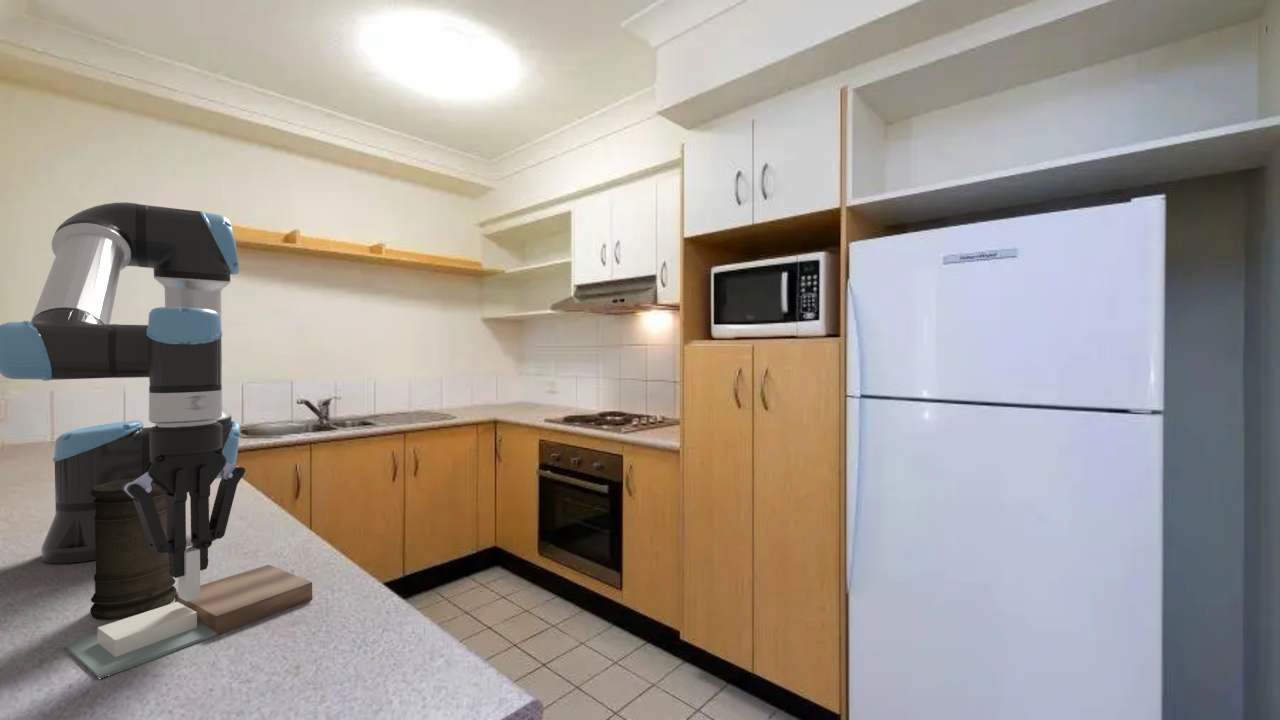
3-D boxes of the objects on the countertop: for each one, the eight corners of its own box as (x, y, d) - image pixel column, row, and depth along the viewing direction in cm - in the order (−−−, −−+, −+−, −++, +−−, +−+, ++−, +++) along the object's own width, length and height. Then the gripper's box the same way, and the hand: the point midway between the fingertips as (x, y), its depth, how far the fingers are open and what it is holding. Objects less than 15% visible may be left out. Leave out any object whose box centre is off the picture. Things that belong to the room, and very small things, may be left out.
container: (190, 596, 81) (188, 477, 80) (115, 625, 72) (113, 492, 72) (151, 588, 84) (149, 473, 83) (75, 615, 75) (73, 487, 75)
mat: (64, 647, 67) (64, 644, 67) (175, 610, 76) (175, 607, 76) (99, 679, 60) (99, 676, 60) (216, 635, 70) (216, 632, 70)
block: (97, 643, 67) (97, 627, 67) (177, 616, 74) (177, 601, 74) (115, 656, 64) (115, 640, 64) (197, 627, 71) (196, 612, 71)
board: (175, 610, 76) (174, 593, 76) (268, 580, 87) (268, 564, 87) (216, 635, 70) (216, 616, 70) (312, 598, 80) (312, 582, 80)
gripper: (133, 431, 65) (136, 625, 65) (255, 419, 76) (257, 585, 76) (111, 426, 68) (113, 610, 69) (230, 416, 80) (232, 574, 80)
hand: (189, 597), depth 72 cm, fingers closed
